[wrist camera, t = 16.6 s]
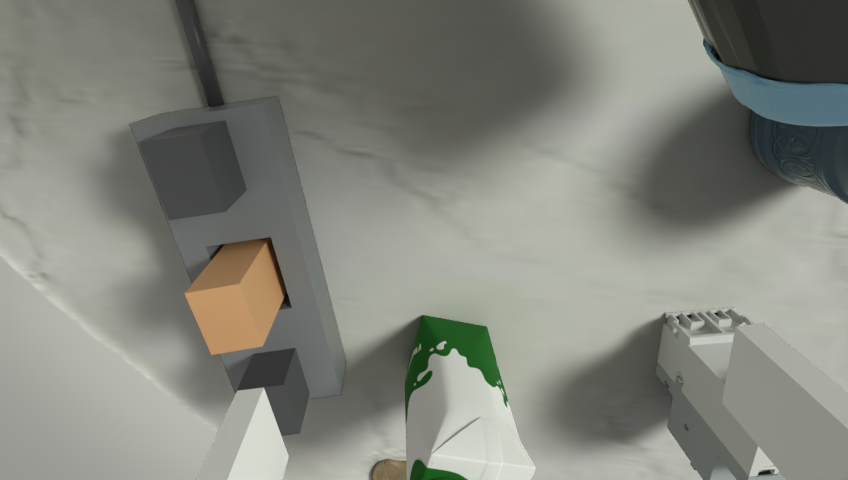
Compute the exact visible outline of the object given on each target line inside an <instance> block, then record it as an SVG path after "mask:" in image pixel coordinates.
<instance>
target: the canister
mask: <svg viewBox="0 0 848 480" xmlns="http://www.w3.org/2000/svg"><path fill="white" fill-rule="evenodd" d="M750 140H751V145H752V148H753V151H754V153H755V155H756V157H757V158H758V160H759V161H760V162H761V164H762V165H763V166H765V167H766V168H767V169H768V170H770V171H771V172H772V173H773V174H775V175H776V176H778V177H779V178H781V179H783V180H786V181H788V182H791V183H793V184H796V185H800V186H805V187H810V188H813V189H816V190H818V191H821V192H824V193H827V194H829V195H832V196H835V197H837V198H839V199H840V200H842V201H843V202H845V203H847V204H848V126H803V125H794V124H787V123H782V122H778V121H774V120H771V119H767V118H765V117H762V116H761V115H759V114H756V113H755V112H754V111H752V116H751V121H750Z"/></svg>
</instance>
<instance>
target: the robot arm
mask: <svg viewBox="0 0 848 480" xmlns="http://www.w3.org/2000/svg"><path fill="white" fill-rule="evenodd" d="M688 2H689V4H690V6H691V9H692V11H693V13H694V15H695V18H696V20H697V22H698V25H699V27H700V29H701V32H702V34H703V36H704V40H703V45H704V47H705V50H706V53H707V54H708V56H709V57H710V59H711V60H712V61H713V62H714V63H715V64H716V65H717V66H718V67H719V68H720V70H721V72H722V74H723V76H724V78H725V80H726V82H727V84H728V86H729V88H730V90H731V92H732V93H733V95H734V96H735V98H736V99H737V100H738V101H739V102H740V103H741V104H742V105H744V106H745V107H748V108H750V109H751V110H753V111H754V112H755V113H756V114H759V115H761V116H762V117H765V118H767V119H771V120H774V121H778V122H782V123H787V124H794V125H803V126H848V0H688ZM722 403H723V405H724V406H725V407H726V408H727V409H728V411H729V412H730V413H731V414H732V415H733V416H734V418H735V419H736V420H737V421H738V422H739V424H740V425H741V426H742V427H743V428H744V430H745V431H746V432H747V433H748V434H749V436H750V437H751V438H752V439H753V440H754V441H755V443H756V444H757V445H758V446H759V447H760V449H761V450H762V451H763V452H764V453H765V455H766V456H767V457H768V458H769V459H770V461H771V462H772V463H773V464H774V465H775V466H776V468H777V469H778V470H779V471H780V472H781V474H782V475H783V476H784V477H785V478H786V480H848V392H847V391H845V390H844V389H843V388H842V387H841V386H839V385H838V384H837V383H836V382H834V381H833V380H832V379H831V378H830V377H828V376H827V375H826V374H825V373H824V372H822V371H821V370H820V369H819V368H818V367H816V366H815V365H814V364H813V363H812V362H810V361H809V360H808V359H807V358H805V357H804V356H803V355H802V354H801V353H799V352H798V351H797V350H796V349H795V348H793V347H792V346H791V345H790V344H789V343H787V342H786V341H785V340H784V339H783V338H781V337H780V336H779V335H778V334H776V333H775V332H774V331H773V330H772V329H770V328H769V327H768V326H767V325H766V324H764V323H759V324H752V325H744V326H736V327H735V332H734V337H733V343H732V349H731V354H730V360H729V365H728V371H727V376H726V382H725V388H724V393H723V399H722ZM288 458H289V456H288V453H287V450H286V447H285V445H284V442H283V439H282V436H281V434H280V431H279V428H278V425H277V422H276V420H275V417H274V414H273V411H272V409H271V406H270V403H269V400H268V397H267V395H266V392H265V389H264V387H263V388H255V389H248V390H240V391H237V392H236V394H235V396H234V399H233V401H232V403H231V405H230V407H229V409H228V411H227V414H226V416H225V418H224V420H223V422H222V424H221V426H220V428H219V431H218V433H217V435H216V437H215V439H214V441H213V443H212V446H211V448H210V450H209V452H208V454H207V456H206V459H205V461H204V463H203V465H202V467H201V469H200V471H199V473H198V476H197V478H196V480H283V476H284V473H285V469H286V465H287V462H288Z"/></svg>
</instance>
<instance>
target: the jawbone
mask: <svg viewBox="0 0 848 480" xmlns="http://www.w3.org/2000/svg"><path fill="white" fill-rule="evenodd" d="M372 478H373V480H407V461H395V460H389V459H387V460H386V459H385V460H382V462H381V461H380V462H378V463H377V464H376V466H375V468H374V470H373V477H372Z"/></svg>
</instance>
